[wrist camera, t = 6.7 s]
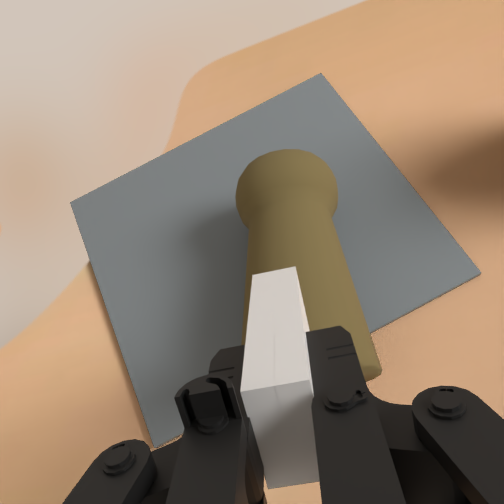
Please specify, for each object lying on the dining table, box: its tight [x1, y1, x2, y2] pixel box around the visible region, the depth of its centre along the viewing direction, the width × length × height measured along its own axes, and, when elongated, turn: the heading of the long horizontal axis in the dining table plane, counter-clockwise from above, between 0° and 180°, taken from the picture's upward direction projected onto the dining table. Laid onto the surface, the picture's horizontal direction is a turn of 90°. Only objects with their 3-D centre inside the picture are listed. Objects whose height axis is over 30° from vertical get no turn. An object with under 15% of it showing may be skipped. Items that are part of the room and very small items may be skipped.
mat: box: [70, 73, 481, 448], centre depth 27 cm, size 18×16×1 cm
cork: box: [235, 149, 382, 382], centre depth 23 cm, size 6×6×11 cm
